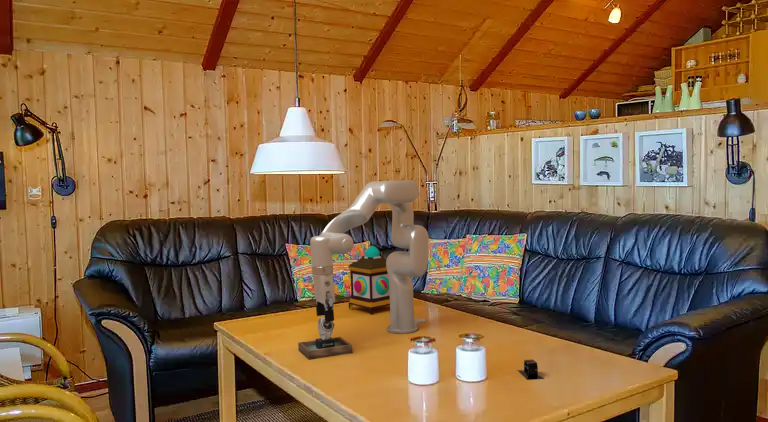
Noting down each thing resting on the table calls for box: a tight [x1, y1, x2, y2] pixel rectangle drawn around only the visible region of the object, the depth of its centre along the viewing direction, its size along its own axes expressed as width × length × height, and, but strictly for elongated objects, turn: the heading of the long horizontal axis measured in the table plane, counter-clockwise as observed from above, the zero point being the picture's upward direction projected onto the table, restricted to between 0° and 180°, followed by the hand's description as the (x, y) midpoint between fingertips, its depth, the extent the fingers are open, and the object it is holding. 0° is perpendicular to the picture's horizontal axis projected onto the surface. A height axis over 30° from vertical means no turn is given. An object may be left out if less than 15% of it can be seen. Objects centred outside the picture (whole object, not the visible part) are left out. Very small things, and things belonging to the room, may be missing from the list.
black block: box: [516, 358, 545, 381], centre depth 182 cm, size 12×7×5 cm, turn 5°
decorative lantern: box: [347, 245, 390, 316], centre depth 281 cm, size 20×20×30 cm
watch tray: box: [297, 336, 353, 360], centre depth 214 cm, size 16×13×3 cm
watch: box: [315, 316, 336, 349], centre depth 214 cm, size 6×8×11 cm
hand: (325, 318), depth 214 cm, fingers open, 9 cm apart
